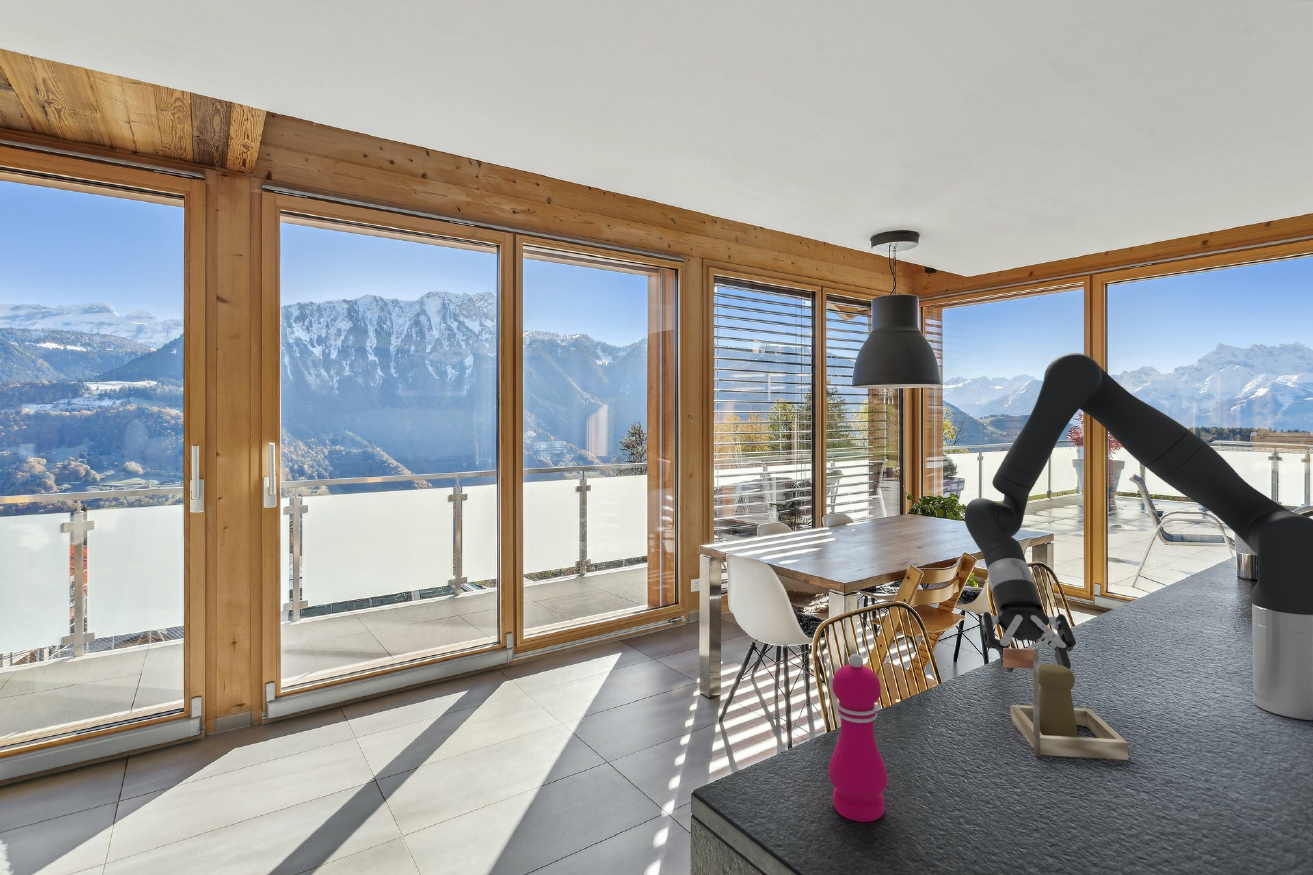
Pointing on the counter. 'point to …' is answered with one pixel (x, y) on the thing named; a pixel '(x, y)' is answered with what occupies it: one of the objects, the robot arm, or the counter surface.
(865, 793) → the pepper mill
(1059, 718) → the cork
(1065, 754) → the wooden square frame
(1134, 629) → the counter surface
